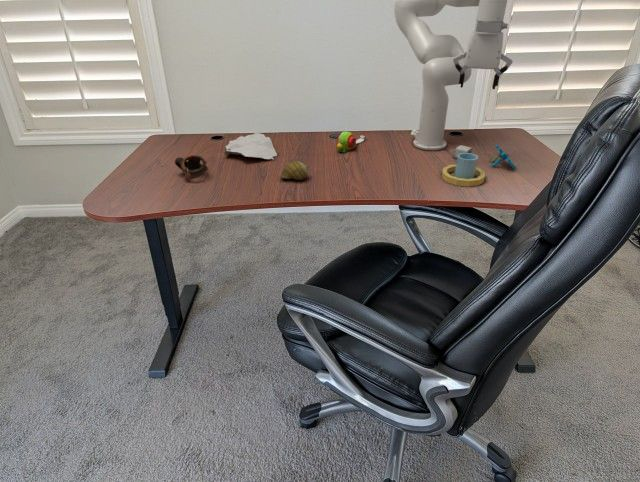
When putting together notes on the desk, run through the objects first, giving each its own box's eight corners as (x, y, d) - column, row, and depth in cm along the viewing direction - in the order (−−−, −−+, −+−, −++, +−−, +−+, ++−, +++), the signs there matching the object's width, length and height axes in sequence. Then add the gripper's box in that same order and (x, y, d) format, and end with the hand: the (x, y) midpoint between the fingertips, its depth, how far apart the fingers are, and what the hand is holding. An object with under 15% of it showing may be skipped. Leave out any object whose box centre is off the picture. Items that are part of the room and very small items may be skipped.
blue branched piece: (520, 169, 141) (501, 146, 139) (504, 180, 143) (485, 158, 142) (513, 161, 151) (495, 139, 149) (498, 171, 153) (481, 151, 151)
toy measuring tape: (330, 152, 161) (330, 135, 158) (357, 137, 175) (357, 121, 171) (345, 155, 158) (345, 138, 155) (370, 140, 171) (371, 124, 168)
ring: (441, 183, 136) (441, 178, 135) (442, 168, 147) (443, 162, 146) (484, 188, 133) (485, 182, 132) (483, 171, 144) (484, 166, 142)
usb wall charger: (465, 161, 152) (467, 150, 150) (447, 156, 156) (449, 146, 154) (470, 158, 154) (472, 147, 152) (453, 153, 158) (454, 143, 156)
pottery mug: (214, 171, 148) (211, 156, 141) (203, 192, 144) (199, 178, 136) (182, 160, 149) (177, 145, 141) (169, 181, 144) (164, 166, 137)
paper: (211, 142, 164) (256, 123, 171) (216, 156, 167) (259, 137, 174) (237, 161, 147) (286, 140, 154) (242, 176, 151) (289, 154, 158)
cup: (450, 178, 140) (454, 156, 136) (460, 172, 143) (464, 151, 139) (467, 183, 136) (471, 161, 132) (477, 178, 139) (481, 156, 135)
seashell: (284, 191, 142) (283, 181, 135) (277, 173, 144) (276, 162, 136) (311, 182, 144) (312, 171, 136) (304, 164, 146) (304, 153, 138)
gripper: (518, 26, 126) (505, 86, 136) (458, 25, 131) (449, 83, 140) (520, 29, 120) (507, 92, 130) (457, 28, 125) (448, 88, 134)
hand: (477, 87), depth 135 cm, fingers open, 9 cm apart
